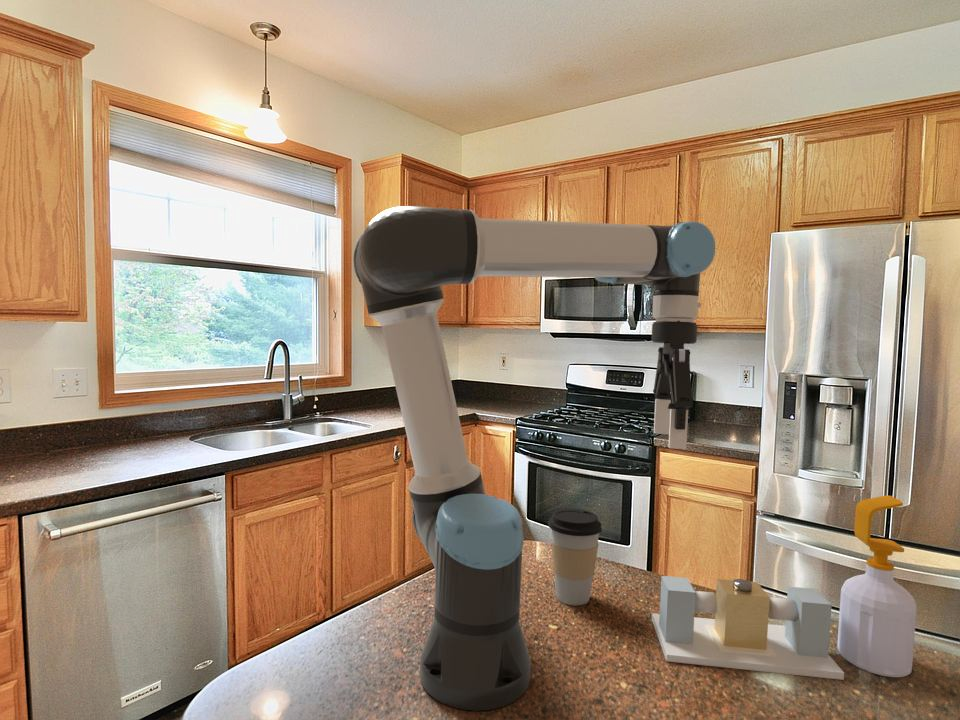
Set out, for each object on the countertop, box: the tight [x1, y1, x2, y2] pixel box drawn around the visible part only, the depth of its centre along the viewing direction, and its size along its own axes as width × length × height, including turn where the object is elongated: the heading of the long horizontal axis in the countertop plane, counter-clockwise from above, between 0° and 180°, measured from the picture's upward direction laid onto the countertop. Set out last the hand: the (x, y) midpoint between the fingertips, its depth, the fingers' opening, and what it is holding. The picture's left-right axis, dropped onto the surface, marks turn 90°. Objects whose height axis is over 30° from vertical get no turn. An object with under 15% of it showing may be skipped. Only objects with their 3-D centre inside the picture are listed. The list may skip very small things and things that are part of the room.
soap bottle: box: [836, 495, 918, 678], centre depth 82 cm, size 9×9×25 cm
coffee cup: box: [547, 507, 603, 607], centre depth 99 cm, size 9×9×15 cm
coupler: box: [714, 578, 770, 650], centre depth 85 cm, size 5×6×9 cm
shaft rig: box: [651, 575, 845, 681], centre depth 85 cm, size 24×12×9 cm, turn 82°
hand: (668, 440), depth 98 cm, fingers open, 13 cm apart
